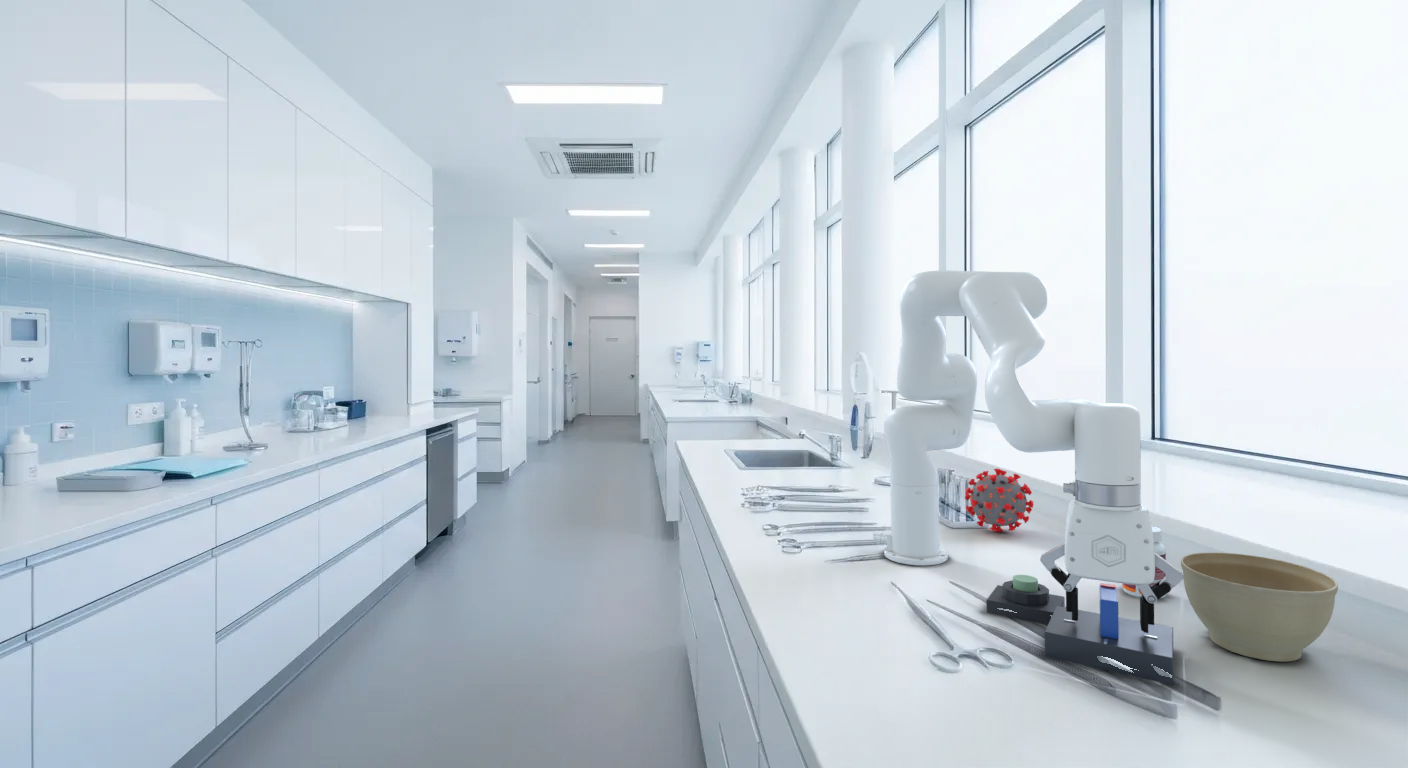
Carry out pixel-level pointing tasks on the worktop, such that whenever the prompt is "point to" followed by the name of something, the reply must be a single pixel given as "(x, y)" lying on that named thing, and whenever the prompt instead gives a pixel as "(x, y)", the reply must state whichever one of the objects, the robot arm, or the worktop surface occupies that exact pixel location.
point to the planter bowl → (1258, 603)
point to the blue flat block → (1109, 611)
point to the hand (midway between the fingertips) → (1108, 622)
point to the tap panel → (1110, 644)
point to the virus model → (998, 500)
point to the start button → (1025, 583)
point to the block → (1024, 603)
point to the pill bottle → (1159, 574)
